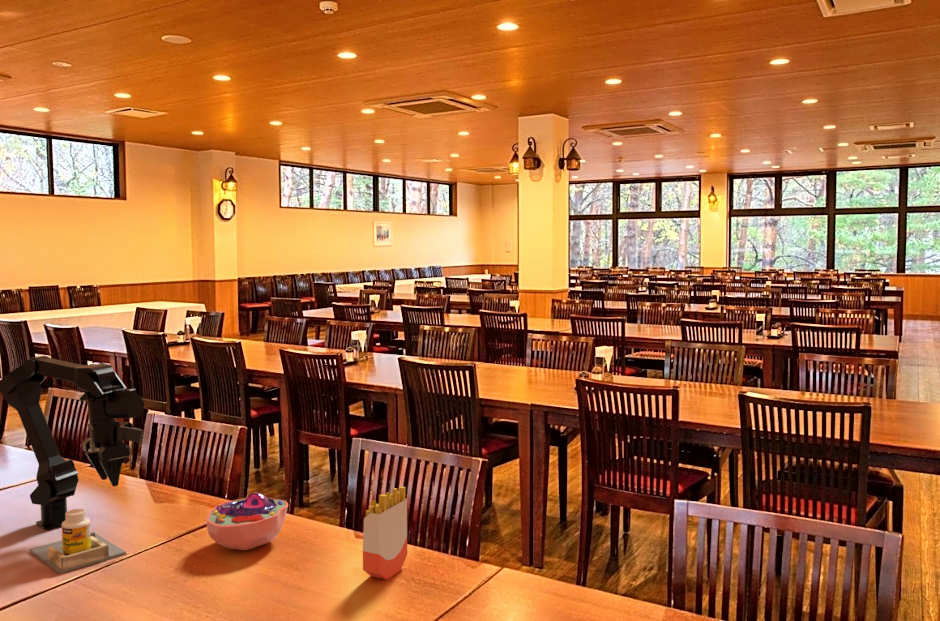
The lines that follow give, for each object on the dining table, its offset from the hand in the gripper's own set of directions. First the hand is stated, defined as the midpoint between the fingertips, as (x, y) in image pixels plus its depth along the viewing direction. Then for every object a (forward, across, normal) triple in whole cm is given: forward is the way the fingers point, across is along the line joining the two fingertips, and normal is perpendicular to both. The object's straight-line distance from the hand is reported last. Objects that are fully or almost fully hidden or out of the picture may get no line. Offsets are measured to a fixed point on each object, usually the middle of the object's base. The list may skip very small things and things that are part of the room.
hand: (109, 482), depth 186 cm
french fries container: (+19, -60, -37) cm, 73 cm away
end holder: (+13, -11, +11) cm, 20 cm away
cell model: (+16, -27, -22) cm, 38 cm away
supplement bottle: (+12, -11, +11) cm, 20 cm away
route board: (+12, -7, +10) cm, 17 cm away
